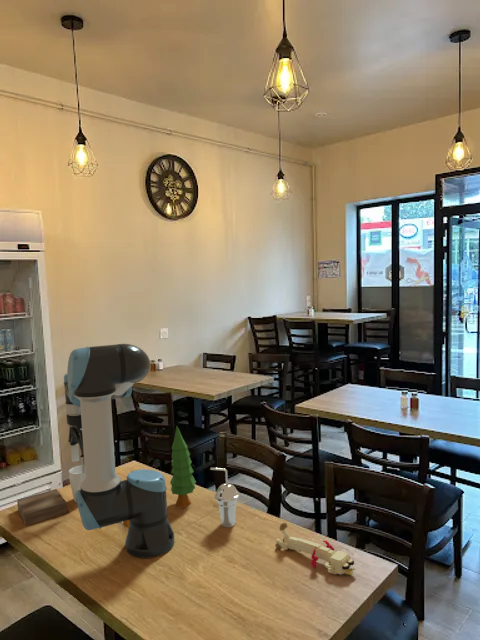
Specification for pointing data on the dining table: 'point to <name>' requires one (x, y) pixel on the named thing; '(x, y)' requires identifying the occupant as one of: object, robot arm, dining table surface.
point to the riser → (41, 506)
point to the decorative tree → (181, 471)
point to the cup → (76, 479)
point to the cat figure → (317, 552)
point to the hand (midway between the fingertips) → (80, 466)
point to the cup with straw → (226, 501)
